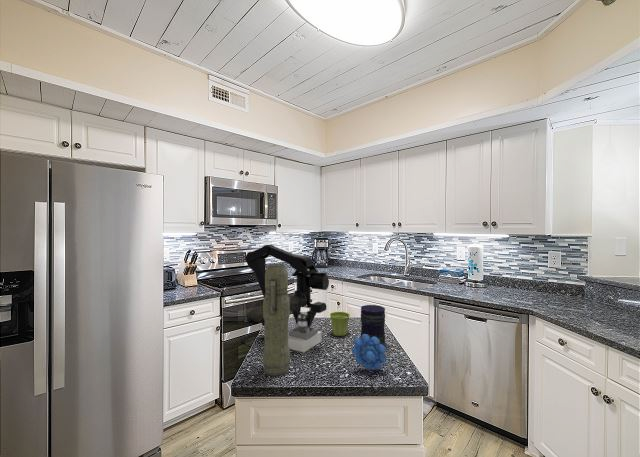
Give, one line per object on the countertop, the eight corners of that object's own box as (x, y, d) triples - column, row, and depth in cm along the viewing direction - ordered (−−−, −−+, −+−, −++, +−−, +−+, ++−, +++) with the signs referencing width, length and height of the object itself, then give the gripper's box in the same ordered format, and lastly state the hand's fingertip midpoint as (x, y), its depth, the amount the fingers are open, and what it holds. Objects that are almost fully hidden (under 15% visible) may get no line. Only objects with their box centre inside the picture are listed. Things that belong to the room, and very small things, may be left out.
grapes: (352, 376, 91) (352, 338, 91) (351, 366, 98) (351, 331, 98) (389, 377, 90) (389, 339, 90) (385, 367, 97) (385, 331, 97)
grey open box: (284, 347, 113) (284, 332, 113) (303, 336, 124) (303, 323, 124) (304, 352, 108) (304, 336, 108) (321, 341, 120) (321, 326, 120)
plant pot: (353, 332, 130) (353, 313, 130) (344, 339, 122) (344, 319, 122) (335, 328, 135) (335, 310, 135) (325, 335, 127) (325, 315, 127)
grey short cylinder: (293, 331, 115) (293, 314, 115) (301, 327, 120) (301, 311, 120) (305, 334, 113) (305, 316, 113) (312, 329, 117) (313, 312, 117)
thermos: (290, 360, 102) (290, 262, 102) (288, 377, 90) (288, 267, 90) (265, 361, 101) (266, 262, 102) (260, 378, 90) (260, 267, 90)
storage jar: (365, 338, 123) (365, 303, 123) (388, 342, 118) (388, 306, 118) (356, 346, 114) (356, 309, 114) (380, 351, 109) (380, 312, 109)
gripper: (273, 288, 114) (272, 327, 114) (312, 294, 105) (312, 336, 105) (289, 284, 124) (289, 320, 124) (327, 288, 114) (327, 327, 114)
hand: (303, 325), depth 116 cm, fingers closed on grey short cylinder, 5 cm apart
